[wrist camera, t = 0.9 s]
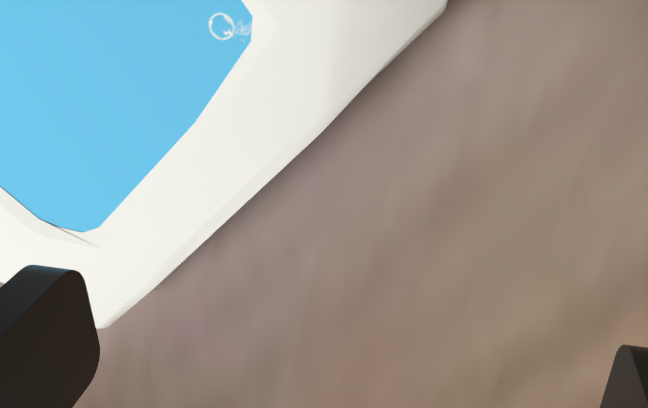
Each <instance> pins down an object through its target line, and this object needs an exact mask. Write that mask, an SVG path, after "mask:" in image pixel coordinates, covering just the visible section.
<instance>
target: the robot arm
mask: <svg viewBox="0 0 648 408" xmlns="http://www.w3.org/2000/svg"><path fill="white" fill-rule="evenodd" d="M99 357H100V345H99V340H98V335H97V331H96V327H95V322H94V318H93V314H92V309H91V305H90V301H89V296H88V292H87V287H86V283H85V280H84V278H83V276H82V275H81V273H79V272H78V271H76V270H70V269H63V268H55V267H48V266H40V265H28V266H26V267H24V268H22V269H21V270H20V271H19V272H17V273H16V274H15V275H14V276H13V277H12V278H11V279H10V280H8V281H7V282H6V283H5V284H4V285H3V286H2V287H1V288H0V408H72V407H73V406H74V405H75V403H76V402H77V401H78V399H79V398H80V396H81V395H82V394H83V392H84V391H85V390H86V388H87V387H88V386H89V384H90V383H91V381H92V379H93V377H94V375H95V373H96V370H97V367H98V362H99ZM600 408H648V348H646V347H638V346H630V345H622V346H621V347H620V348H619V349H618V351H617V353H616V356H615V359H614V362H613V366H612V369H611V372H610V376H609V379H608V382H607V386H606V389H605V392H604V396H603V399H602V402H601V406H600Z"/></svg>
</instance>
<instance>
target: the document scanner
mask: <svg viewBox="0 0 648 408" xmlns="http://www.w3.org/2000/svg"><path fill="white" fill-rule="evenodd" d="M447 1H448V0H0V282H2V283H4V284H5V283H6V282H7V281H8V280H10V279H11V278H12V277H13V276H14V275H15V274H16V273H17V272H19V271H20V270H21V269H22V268H24V267H26V266H28V265H40V266H48V267H55V268H63V269H70V270H76V271H78V272H79V273H81V275H82V276H83V278H84V280H85V283H86V287H87V292H88V296H89V301H90V305H91V309H92V314H93V318H94V322H95V327H96V328H107V327H108V326H110V325H111V324H112V323H113V322H114V321H116V320H117V319H118V318H119V317H120V316H122V315H123V314H124V313H125V312H126V311H127V310H129V309H130V308H131V307H132V306H133V305H135V304H136V303H137V302H138V301H139V300H141V299H142V298H143V297H144V296H145V295H146V294H148V293H149V292H150V291H151V290H152V289H154V288H155V287H156V286H157V285H158V284H159V283H160V282H161V281H162V280H163V279H165V278H166V277H167V276H168V275H169V274H170V273H171V272H172V271H173V270H174V269H175V268H176V267H177V266H179V265H180V264H181V263H182V262H183V261H184V260H185V259H186V258H187V257H188V256H189V255H190V254H191V253H192V252H194V251H195V250H196V249H197V248H198V247H199V246H200V245H201V244H202V243H203V242H204V241H205V240H206V239H208V238H209V237H210V236H211V235H212V234H213V233H214V232H215V231H216V230H217V229H218V228H219V227H220V226H222V225H223V224H224V223H225V222H226V221H227V220H228V219H229V218H230V217H231V216H232V215H233V214H234V213H236V212H237V211H238V210H239V209H240V208H241V207H242V206H243V205H244V204H245V203H246V202H247V201H248V200H250V199H251V198H252V197H253V196H254V195H255V194H256V193H257V192H258V191H259V190H260V189H261V188H262V187H263V186H265V185H266V184H267V183H268V182H269V181H270V180H271V179H272V178H273V177H274V176H275V175H276V174H277V173H279V172H280V171H281V170H282V169H283V168H284V167H285V166H286V165H287V164H288V163H289V162H290V161H291V160H293V159H294V158H295V157H296V156H297V155H298V154H299V153H300V152H301V151H302V150H303V149H304V148H305V147H307V146H308V145H309V144H310V143H311V142H312V141H313V140H314V139H315V138H316V137H317V136H318V135H319V134H320V133H322V132H323V130H324V129H325V128H326V127H327V126H328V125H329V124H330V123H331V122H332V121H333V120H334V119H335V118H336V117H337V115H338V114H339V113H340V112H341V111H342V110H343V109H344V108H345V107H346V106H347V105H348V104H349V103H350V102H351V101H352V99H353V98H354V97H355V96H356V95H357V94H358V93H359V92H360V91H361V90H362V89H363V88H364V87H365V86H366V85H367V84H368V83H369V82H370V81H371V80H372V79H373V78H374V77H375V76H376V75H377V74H378V73H380V72H381V71H382V70H383V69H384V68H385V67H386V66H387V65H388V64H389V63H390V62H391V61H392V60H393V59H394V58H395V57H396V56H398V55H399V54H400V53H401V52H402V51H403V50H404V49H405V48H406V47H407V46H408V45H409V44H410V43H411V42H412V41H413V40H415V39H416V38H417V37H418V36H419V35H420V34H421V33H422V32H423V31H424V30H425V29H426V28H427V27H428V26H429V25H430V24H431V23H433V22H434V21H435V20H436V19H437V18H438V17H439V16H440V15H441V14H442V13H443V12H444V11H445V9H446V5H447Z"/></svg>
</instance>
